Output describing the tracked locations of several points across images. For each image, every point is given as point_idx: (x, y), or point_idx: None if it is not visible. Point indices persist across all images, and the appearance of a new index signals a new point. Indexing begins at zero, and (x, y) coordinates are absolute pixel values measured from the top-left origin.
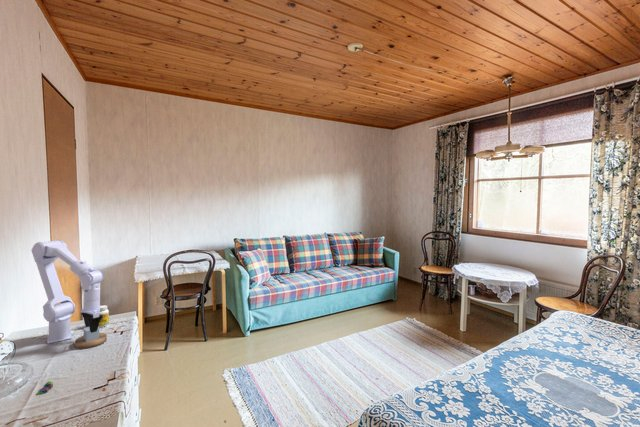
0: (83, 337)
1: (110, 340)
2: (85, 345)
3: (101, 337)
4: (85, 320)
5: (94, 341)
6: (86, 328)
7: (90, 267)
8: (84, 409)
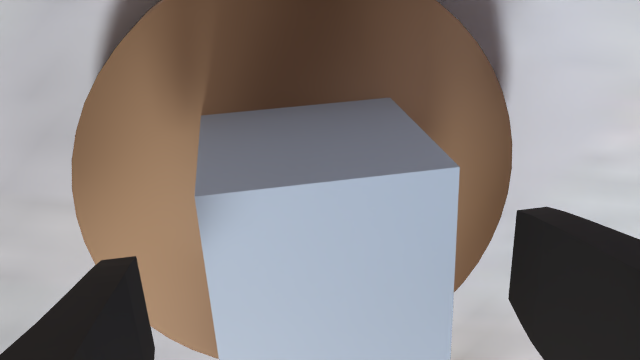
0: (391, 102)
1: (205, 356)
2: (93, 87)
3: None
4: (635, 289)
5: (127, 218)
6: (397, 214)
7: None
8: None
